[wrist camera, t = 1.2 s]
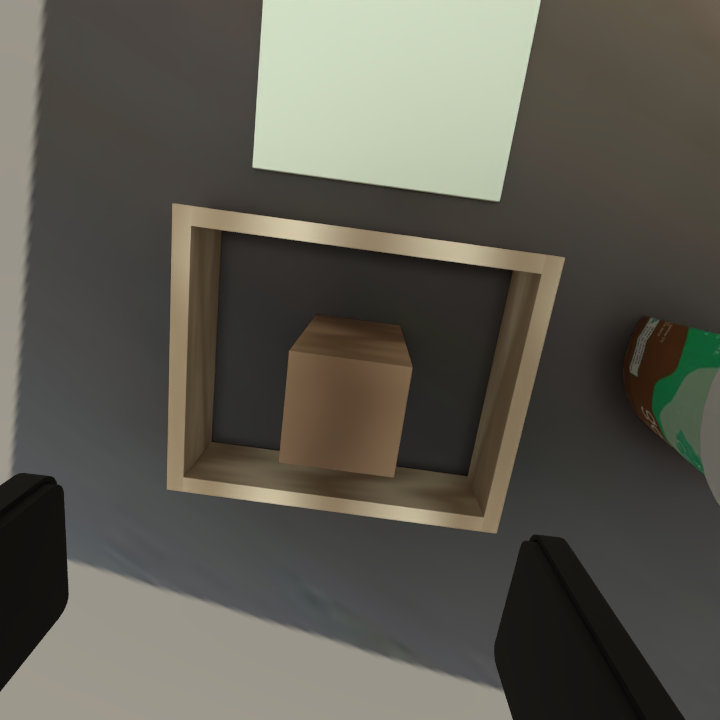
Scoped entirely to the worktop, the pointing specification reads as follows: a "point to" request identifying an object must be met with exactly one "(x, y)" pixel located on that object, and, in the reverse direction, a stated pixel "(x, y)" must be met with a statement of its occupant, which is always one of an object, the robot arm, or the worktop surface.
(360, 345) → the walnut block
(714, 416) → the food container
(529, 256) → the access box
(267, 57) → the mat
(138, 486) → the worktop surface
